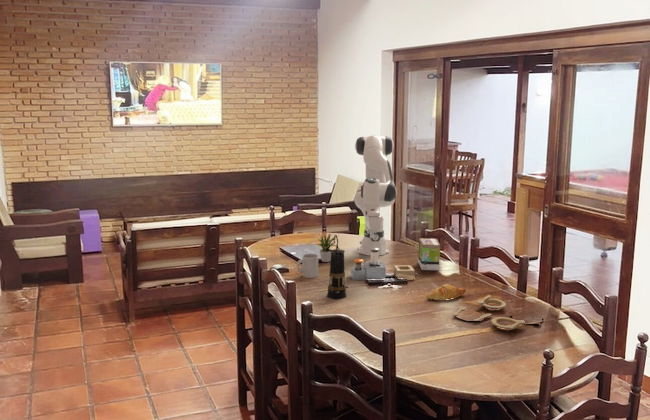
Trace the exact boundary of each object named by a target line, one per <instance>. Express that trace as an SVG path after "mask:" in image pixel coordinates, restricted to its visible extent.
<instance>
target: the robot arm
mask: <svg viewBox="0 0 650 420" xmlns="http://www.w3.org/2000/svg"><path fill="white" fill-rule="evenodd" d="M354 148H355V149H354V150H355V151H356V153H357V154H358V155H360V156H362V157H363V163H364V164H365V179H364V181H363V184H362V185H361V186H360V190H359V191H357V192H355V194H354V197H353V199H354V200H353V201H354V204H355V206H356V207H357V208H358V209H359V210H360V211H361V212H362V214H363V217H364V230H363V237H362V240H359V246H358V249H357V253H358V254H362V255H366V256H371V248H373V247H376V248H379V256H384V255H386V254H389V252H390V251H389V249H387V238H385V237H384V236H385V230H384V224H385V223H384V219H385V218H384V217H383V216H382V215H381V211H380V210H381V208H386V207H391V206H393V205H394V203H395V201H396V198H397V193H398V192H397V187H396V183H395V180H394V175H393V171H392V167H391V163H390V160H389V159H387V158H386V157H387V156H389V155H391V154H392V153H393V150H394V148H395V143H394V140H393V138H392V137H391V136H388V135H387V136H382V135H374V134H373V135H370V136H360V137H358V138H357V139H356V141H355V144H354Z"/></svg>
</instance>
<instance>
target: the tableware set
mask: <svg viewBox="0 0 650 420" xmlns="http://www.w3.org/2000/svg"><path fill="white" fill-rule="evenodd" d="M476 303H477V304H479V305H482V306H483V307H484V306H485V307H487V308H491V309H498V308H501V309H504V308H505V307H506V306H507V302H505V301H503V300H501V299H498V298H492V295H490V294H488V295H486V296H485V297H484V298H482V299H478V300H476ZM488 303H496V304H499V305H500V306H490V305H487V304H488ZM485 307H484V308H485ZM464 310H467V307H466V306H462V305H459V306H458V307H457V310H456V311H455V312H454V313H453V314H452V316H453V317H455V316H458V314H459V313H460V312H461V311H464ZM483 314H484V313H483ZM490 315H492V316H493V314H492V313H486V314H484V315H482V316H479V317H480V318H477V319H474V320H473V321H478V320H480V319H483V318H485V317H487V318H489V317H488V316H490ZM490 317H491V316H490ZM485 319H486V318H485ZM500 321H509V322H513V323H514V324H513V325H511V326H504V325H500V324H498V322H500ZM490 322H491V324H492V325H493V326H495V327H496V326H497V327H500V328H505V329H513V330H514V329H517V328H519V327H520V326H521V325H524V324H523V323H525V321H524V320H515V319H512V318H511V317H504V316H498V317H497V316H496V317H493V318H492V319H491V320H490ZM497 327H496V328H497Z"/></svg>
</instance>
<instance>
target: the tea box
mask: <svg viewBox="0 0 650 420" xmlns="http://www.w3.org/2000/svg"><path fill="white" fill-rule="evenodd" d="M418 241H419V242H418V257H417V258H418V261H417V263H418V266H419V267H420V269H421V271H439V270H440V256H441V244H440V242H439V241H438V239H437V238H419V240H418Z"/></svg>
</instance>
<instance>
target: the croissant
mask: <svg viewBox="0 0 650 420" xmlns="http://www.w3.org/2000/svg"><path fill="white" fill-rule="evenodd" d="M465 293H466V289H465V288H461V287H457V286H454V285H453V284H451V283H446V284H445V283H443V284H442V285H440V286H439V287H436V288H435V290H432V291H430V292H429V293H427V294H426V296H425V297H426V299H428V300H432V299H434V300H433V301H443V300H446V299H451V298H455V299H457V298H459V296H460V297H461V295H462V296H463V295H464V294H465ZM456 297H457V298H456ZM446 301H447V300H446Z"/></svg>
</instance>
